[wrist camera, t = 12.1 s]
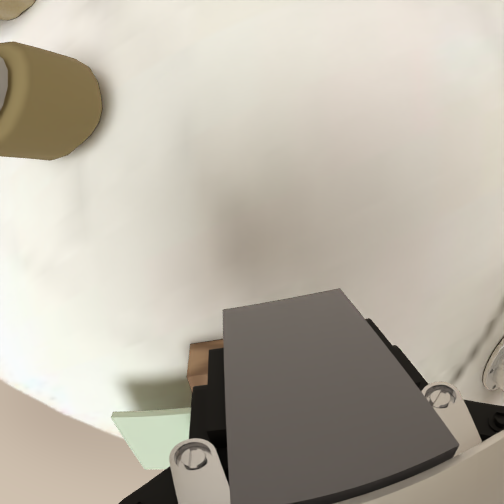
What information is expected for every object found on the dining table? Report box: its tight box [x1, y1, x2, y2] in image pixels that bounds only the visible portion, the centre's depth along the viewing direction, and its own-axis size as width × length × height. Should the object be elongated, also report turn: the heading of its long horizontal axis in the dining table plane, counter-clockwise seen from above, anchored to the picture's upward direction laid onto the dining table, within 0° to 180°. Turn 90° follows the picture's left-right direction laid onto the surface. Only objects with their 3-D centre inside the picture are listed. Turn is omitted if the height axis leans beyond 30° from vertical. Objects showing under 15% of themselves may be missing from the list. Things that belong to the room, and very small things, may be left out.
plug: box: [223, 288, 460, 504], centre depth 9 cm, size 4×4×8 cm
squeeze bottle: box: [0, 42, 102, 160], centre depth 13 cm, size 8×8×18 cm
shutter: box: [111, 407, 191, 469], centre depth 25 cm, size 9×9×4 cm
